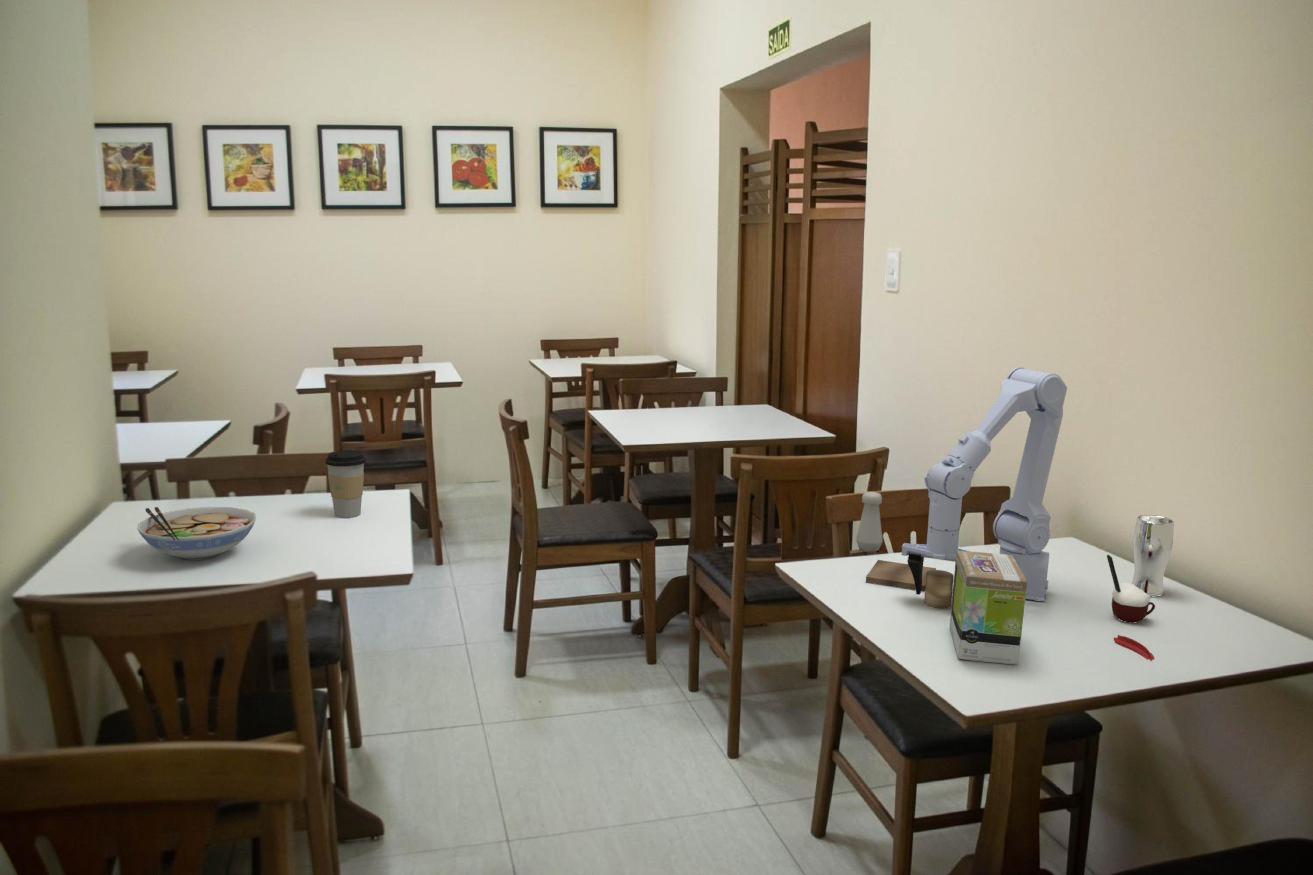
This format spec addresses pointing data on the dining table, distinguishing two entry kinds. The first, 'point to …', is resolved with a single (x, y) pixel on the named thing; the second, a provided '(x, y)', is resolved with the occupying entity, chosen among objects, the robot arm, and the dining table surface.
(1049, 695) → the dining table surface
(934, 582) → the oak cylinder
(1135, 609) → the cocoa
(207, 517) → the ramen bowl
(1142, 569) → the beer glass
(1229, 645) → the dining table surface
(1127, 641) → the cayenne pepper
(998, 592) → the tea box
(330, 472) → the coffee cup
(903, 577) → the walnut board
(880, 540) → the salt shaker
